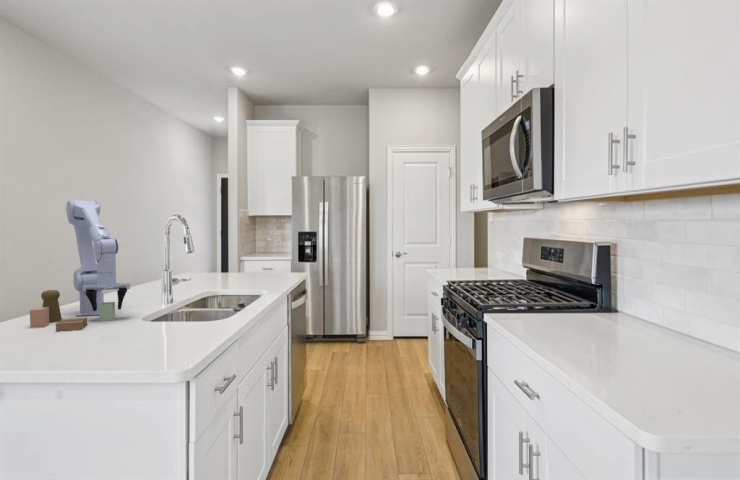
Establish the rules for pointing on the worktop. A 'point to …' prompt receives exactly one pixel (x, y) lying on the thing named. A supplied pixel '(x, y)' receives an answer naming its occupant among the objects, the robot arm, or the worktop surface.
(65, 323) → the walnut board
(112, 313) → the sage block
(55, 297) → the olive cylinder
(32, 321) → the terracotta block
